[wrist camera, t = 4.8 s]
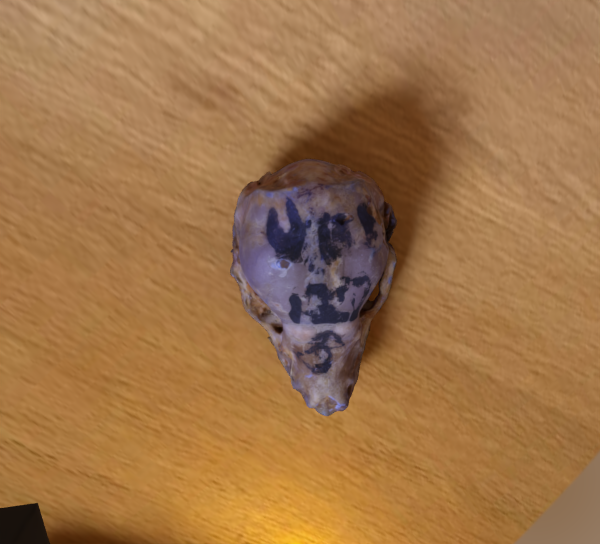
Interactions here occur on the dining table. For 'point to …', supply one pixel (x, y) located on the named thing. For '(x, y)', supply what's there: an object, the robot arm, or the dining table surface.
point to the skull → (314, 271)
